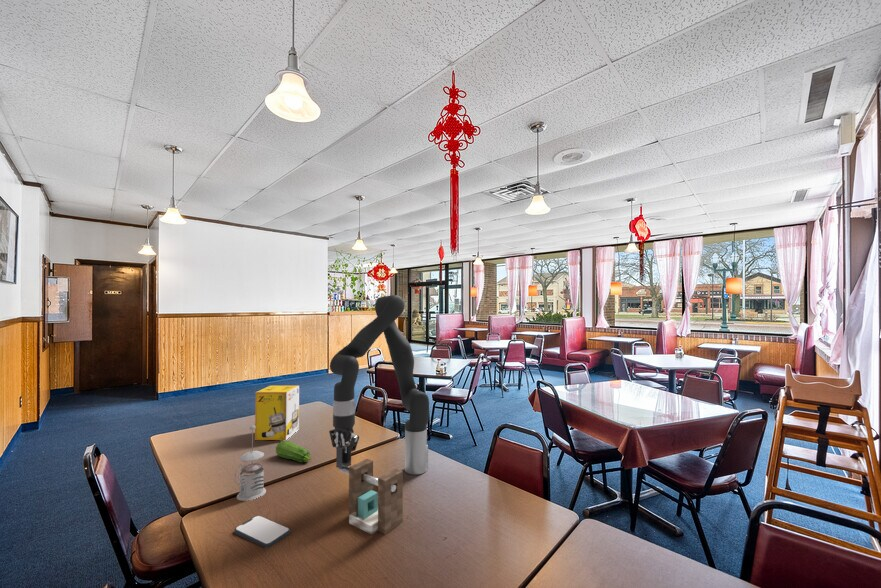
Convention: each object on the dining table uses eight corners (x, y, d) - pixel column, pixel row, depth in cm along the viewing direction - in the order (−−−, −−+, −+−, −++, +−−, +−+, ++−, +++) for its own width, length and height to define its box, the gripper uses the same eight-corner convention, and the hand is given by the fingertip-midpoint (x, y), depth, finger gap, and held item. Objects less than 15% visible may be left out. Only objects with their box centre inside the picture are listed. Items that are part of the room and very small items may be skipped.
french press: (272, 489, 137) (273, 422, 138) (246, 505, 126) (247, 432, 127) (252, 485, 140) (253, 420, 141) (225, 500, 129) (226, 429, 130)
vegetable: (282, 435, 171) (312, 443, 161) (288, 447, 174) (318, 455, 164) (270, 447, 165) (300, 456, 156) (276, 459, 168) (306, 468, 158)
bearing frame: (342, 519, 117) (343, 469, 118) (372, 502, 128) (372, 456, 129) (379, 538, 108) (379, 484, 108) (407, 518, 118) (407, 468, 119)
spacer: (357, 516, 118) (357, 497, 119) (371, 507, 123) (371, 489, 123) (364, 519, 117) (364, 500, 117) (377, 510, 122) (377, 492, 122)
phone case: (292, 534, 111) (258, 519, 119) (292, 528, 111) (258, 514, 119) (266, 551, 103) (232, 534, 111) (266, 545, 103) (232, 528, 111)
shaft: (336, 472, 127) (336, 446, 127) (345, 468, 130) (345, 443, 130) (389, 494, 112) (389, 465, 112) (398, 489, 115) (398, 460, 115)
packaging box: (286, 441, 187) (286, 392, 187) (254, 441, 187) (255, 392, 188) (298, 430, 203) (299, 385, 204) (270, 430, 203) (270, 385, 204)
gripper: (365, 412, 127) (365, 462, 127) (339, 406, 135) (339, 453, 135) (348, 418, 121) (348, 470, 120) (322, 411, 129) (322, 460, 129)
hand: (343, 461), depth 128 cm, fingers open, 3 cm apart
